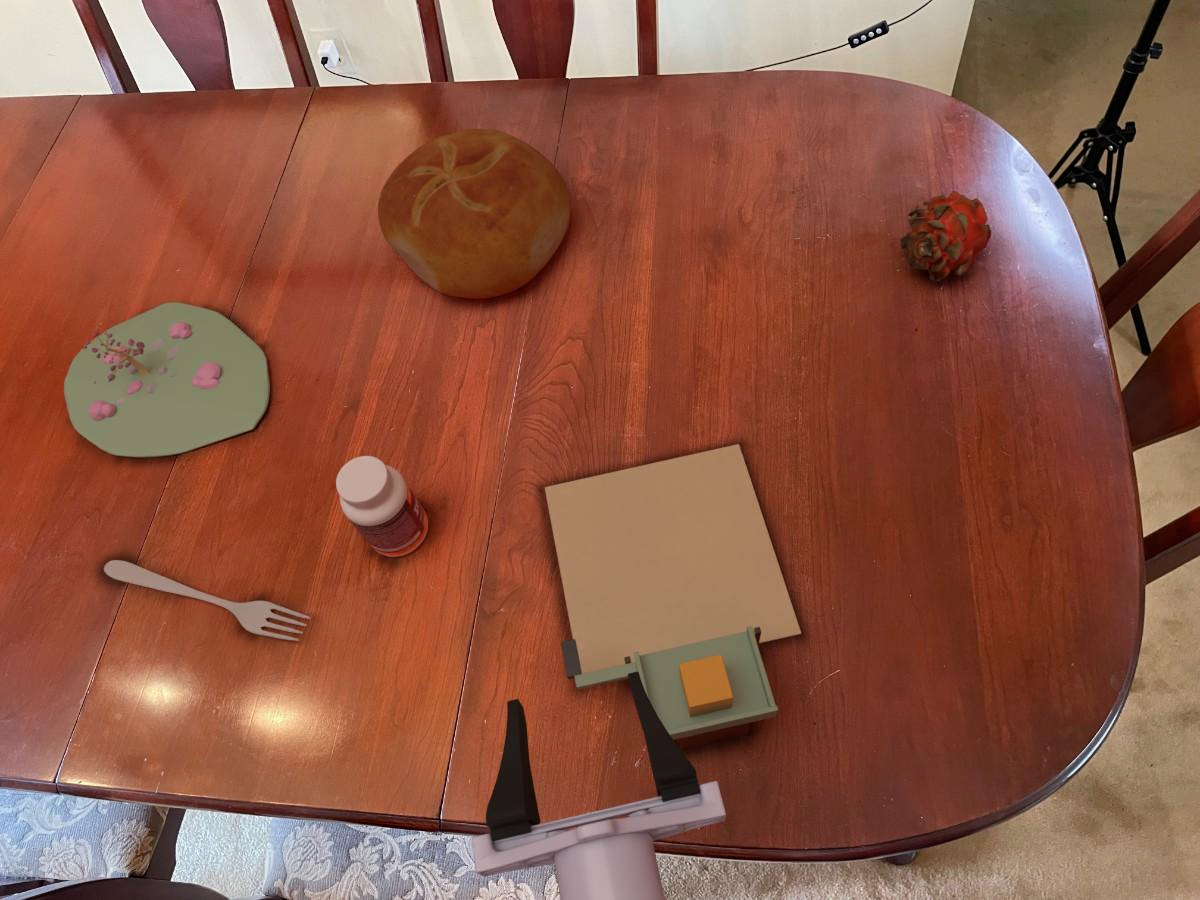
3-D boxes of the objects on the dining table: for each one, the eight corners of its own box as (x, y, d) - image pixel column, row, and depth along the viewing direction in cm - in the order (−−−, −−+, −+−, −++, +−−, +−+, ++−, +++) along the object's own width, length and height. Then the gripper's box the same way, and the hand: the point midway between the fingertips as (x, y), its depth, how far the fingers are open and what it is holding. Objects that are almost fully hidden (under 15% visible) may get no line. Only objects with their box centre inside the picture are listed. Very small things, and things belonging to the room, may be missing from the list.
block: (731, 708, 66) (733, 697, 64) (689, 717, 66) (689, 707, 64) (720, 665, 68) (721, 654, 65) (679, 675, 68) (678, 663, 65)
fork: (114, 551, 86) (104, 544, 85) (319, 619, 80) (312, 612, 79) (96, 579, 85) (85, 573, 83) (303, 650, 79) (296, 645, 78)
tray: (775, 717, 66) (778, 710, 64) (582, 761, 66) (579, 755, 64) (742, 604, 71) (743, 594, 69) (562, 644, 71) (558, 636, 69)
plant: (308, 317, 99) (275, 265, 91) (242, 472, 90) (198, 428, 82) (120, 301, 104) (73, 250, 96) (37, 447, 94) (-23, 403, 86)
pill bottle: (442, 528, 84) (410, 477, 74) (393, 571, 82) (354, 524, 73) (404, 490, 86) (368, 435, 77) (356, 531, 85) (313, 480, 75)
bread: (365, 305, 99) (333, 246, 91) (417, 164, 110) (393, 99, 102) (554, 318, 96) (540, 257, 87) (588, 171, 107) (579, 104, 98)
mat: (801, 634, 75) (801, 633, 75) (581, 684, 75) (581, 683, 75) (738, 445, 85) (738, 443, 85) (544, 488, 85) (544, 487, 85)
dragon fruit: (911, 308, 93) (936, 243, 100) (990, 291, 87) (1012, 224, 94) (880, 246, 89) (909, 183, 96) (961, 224, 83) (986, 158, 90)
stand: (779, 727, 72) (785, 711, 66) (646, 757, 71) (642, 744, 66) (755, 647, 75) (759, 626, 70) (628, 676, 75) (623, 657, 70)
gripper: (751, 895, 43) (685, 643, 50) (471, 961, 43) (446, 698, 50) (745, 907, 49) (687, 680, 56) (499, 964, 49) (473, 729, 56)
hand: (574, 690), depth 54 cm, fingers open, 7 cm apart
